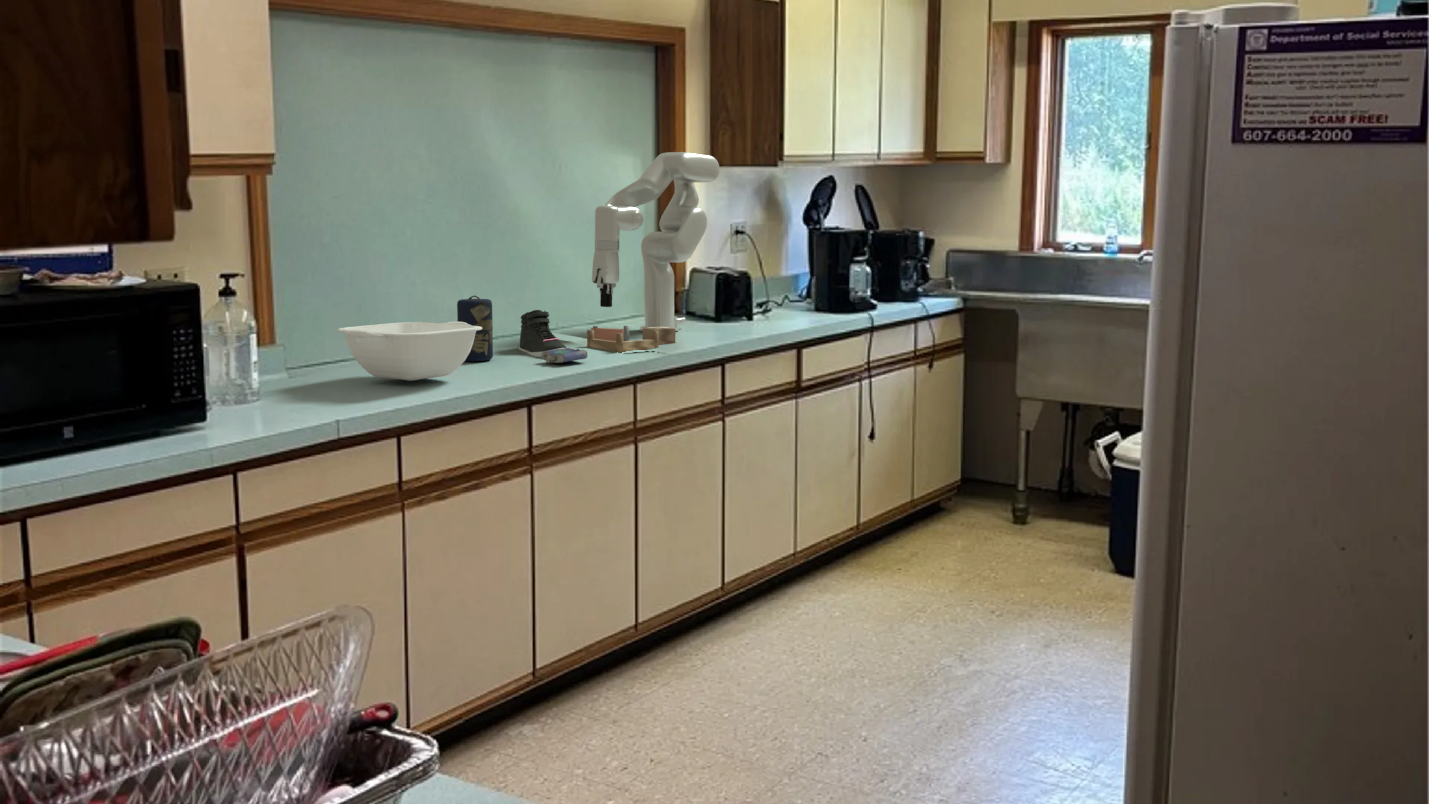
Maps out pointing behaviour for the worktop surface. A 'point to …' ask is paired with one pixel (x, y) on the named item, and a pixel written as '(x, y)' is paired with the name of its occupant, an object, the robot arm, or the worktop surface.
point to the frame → (622, 343)
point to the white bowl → (411, 348)
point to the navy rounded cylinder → (478, 315)
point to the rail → (610, 333)
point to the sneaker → (537, 334)
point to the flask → (564, 355)
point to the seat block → (660, 334)
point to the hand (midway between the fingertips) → (606, 306)
